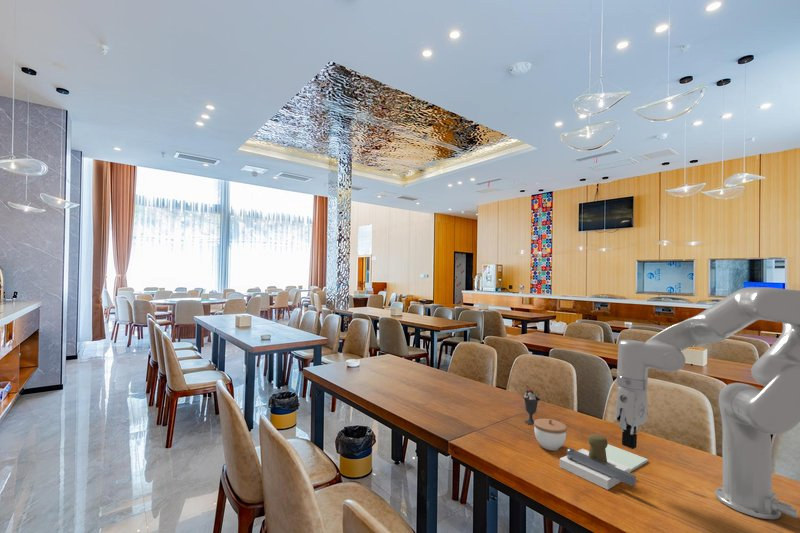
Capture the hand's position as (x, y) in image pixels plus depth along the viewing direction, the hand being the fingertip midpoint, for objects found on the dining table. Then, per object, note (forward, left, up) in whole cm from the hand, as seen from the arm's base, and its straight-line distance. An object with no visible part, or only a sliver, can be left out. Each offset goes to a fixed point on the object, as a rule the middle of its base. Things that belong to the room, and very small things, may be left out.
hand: (629, 446), depth 104 cm
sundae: (+43, -15, -11) cm, 47 cm away
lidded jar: (+26, -2, -11) cm, 29 cm away
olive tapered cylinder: (+8, +1, -11) cm, 14 cm away
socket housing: (+9, +2, -11) cm, 14 cm away
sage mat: (+9, -14, -11) cm, 20 cm away
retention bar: (+6, +5, -8) cm, 11 cm away
